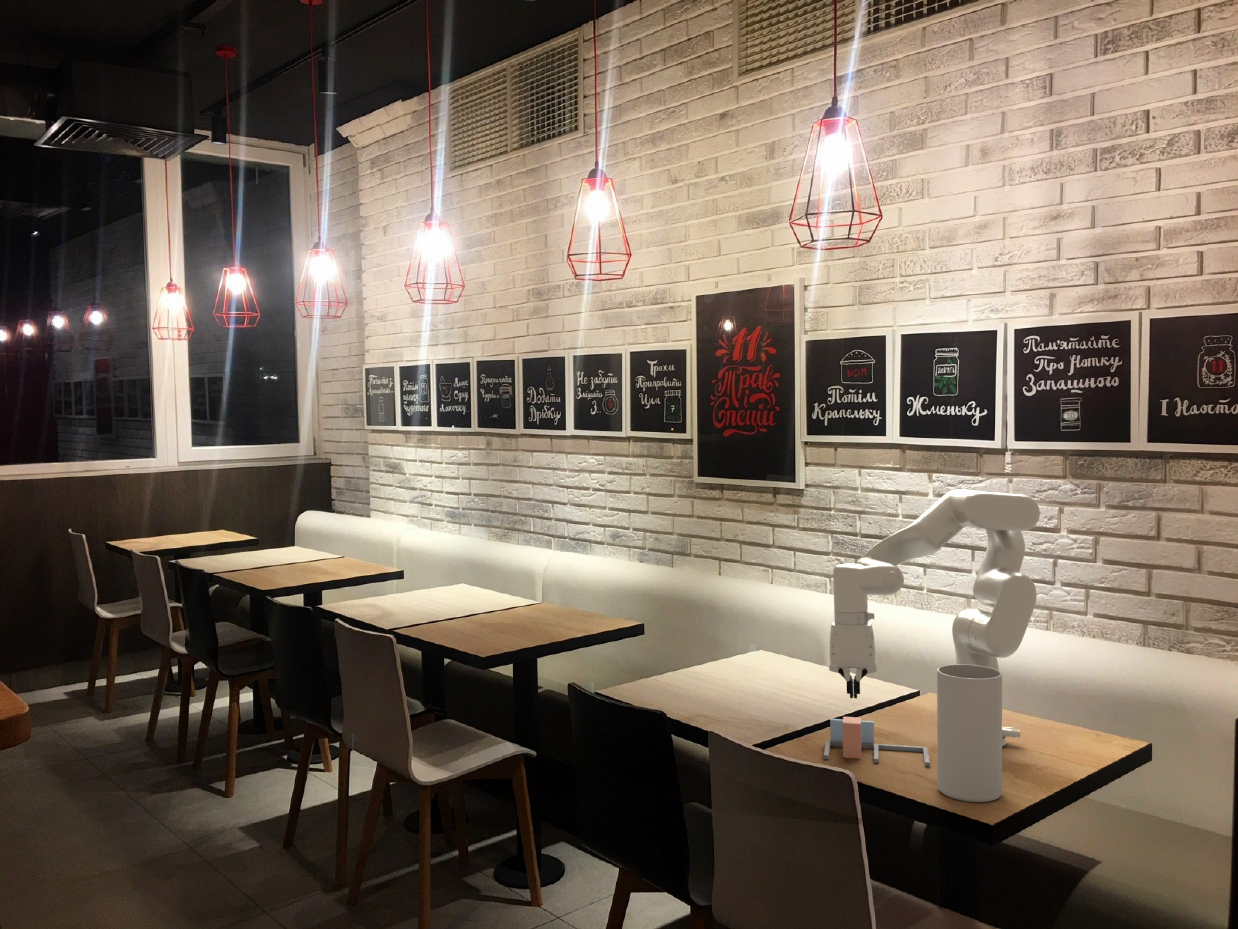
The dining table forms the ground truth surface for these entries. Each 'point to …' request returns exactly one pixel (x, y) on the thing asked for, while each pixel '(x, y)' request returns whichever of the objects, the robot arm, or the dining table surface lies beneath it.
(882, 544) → the robot arm
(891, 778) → the dining table surface
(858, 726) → the plug block
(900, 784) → the dining table surface
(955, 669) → the cylinder vase
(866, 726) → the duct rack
